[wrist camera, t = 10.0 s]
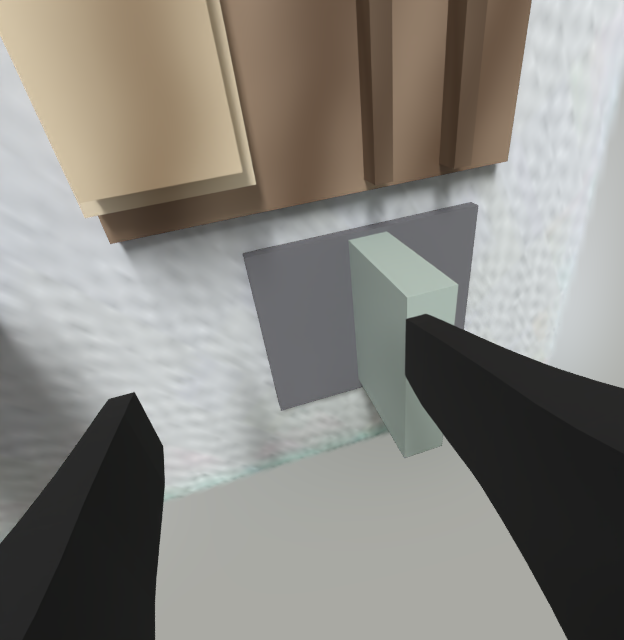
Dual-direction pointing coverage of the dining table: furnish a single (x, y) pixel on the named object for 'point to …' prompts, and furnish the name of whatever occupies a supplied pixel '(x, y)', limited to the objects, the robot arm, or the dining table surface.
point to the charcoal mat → (340, 297)
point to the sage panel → (395, 330)
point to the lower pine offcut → (197, 186)
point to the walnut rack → (357, 100)
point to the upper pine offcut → (124, 90)
